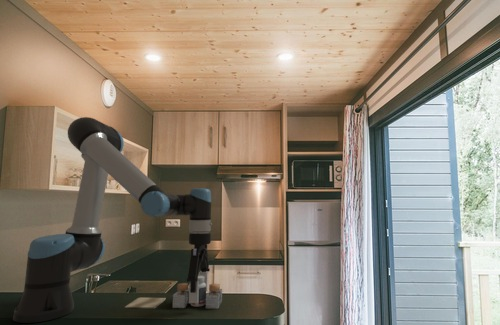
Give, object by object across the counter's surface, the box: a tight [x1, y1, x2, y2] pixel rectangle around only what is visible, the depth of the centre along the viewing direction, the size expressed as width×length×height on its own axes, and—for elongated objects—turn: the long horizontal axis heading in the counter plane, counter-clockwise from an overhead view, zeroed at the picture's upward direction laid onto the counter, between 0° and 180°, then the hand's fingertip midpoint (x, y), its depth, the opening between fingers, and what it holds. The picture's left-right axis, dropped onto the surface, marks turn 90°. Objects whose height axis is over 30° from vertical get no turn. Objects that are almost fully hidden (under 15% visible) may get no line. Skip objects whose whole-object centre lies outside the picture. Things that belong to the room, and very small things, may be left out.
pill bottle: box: [189, 275, 207, 308], centre depth 97 cm, size 5×5×9 cm
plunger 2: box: [208, 283, 221, 293], centre depth 97 cm, size 4×4×5 cm
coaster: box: [124, 296, 167, 310], centre depth 98 cm, size 10×10×1 cm
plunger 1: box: [176, 282, 189, 292], centre depth 97 cm, size 4×4×5 cm
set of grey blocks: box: [172, 287, 223, 310], centre depth 97 cm, size 15×8×4 cm, turn 86°
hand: (198, 296), depth 97 cm, fingers open, 13 cm apart
